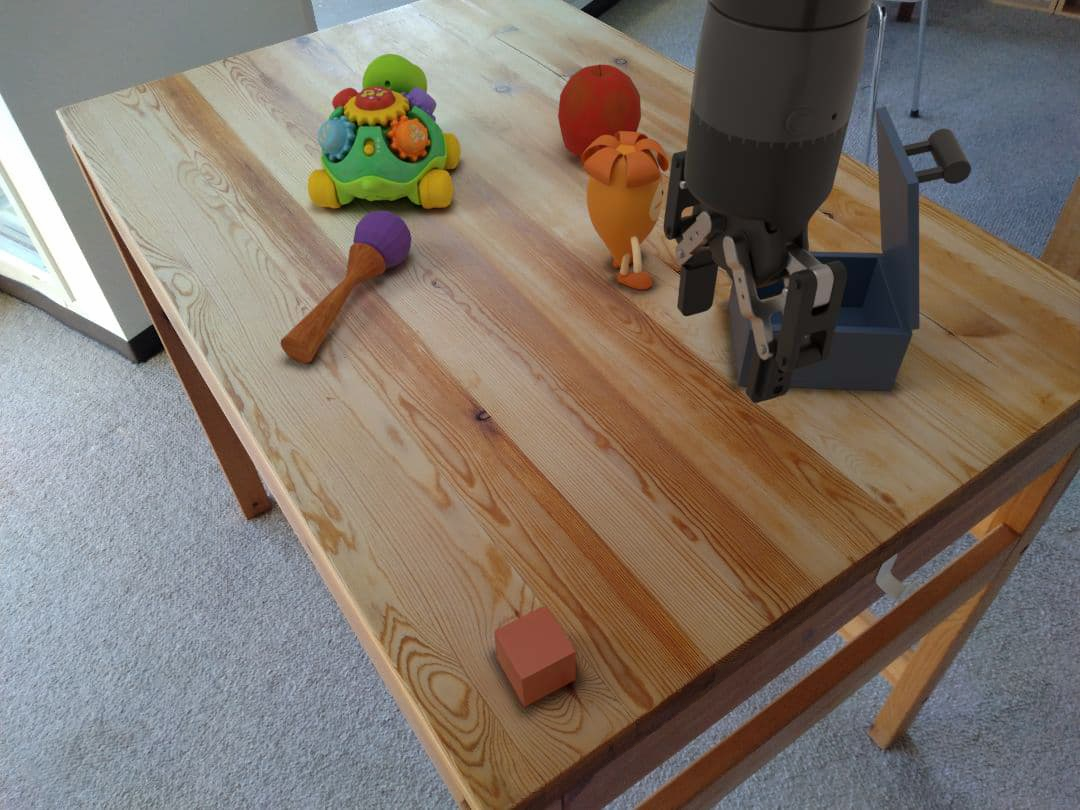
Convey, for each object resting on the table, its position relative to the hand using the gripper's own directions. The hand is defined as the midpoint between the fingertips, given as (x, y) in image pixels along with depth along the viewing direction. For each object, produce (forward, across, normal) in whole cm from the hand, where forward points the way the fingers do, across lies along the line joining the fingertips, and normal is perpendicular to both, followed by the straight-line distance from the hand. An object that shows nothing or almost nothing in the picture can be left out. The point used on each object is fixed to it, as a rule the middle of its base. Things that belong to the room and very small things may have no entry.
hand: (727, 350), depth 52 cm
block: (+19, -6, +15) cm, 25 cm away
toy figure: (+19, +33, -8) cm, 39 cm away
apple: (+19, +56, -16) cm, 62 cm away
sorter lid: (+5, +14, -24) cm, 28 cm away
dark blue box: (+19, +16, -20) cm, 32 cm away
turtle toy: (+19, +62, +9) cm, 65 cm away
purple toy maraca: (+19, +39, +19) cm, 47 cm away
